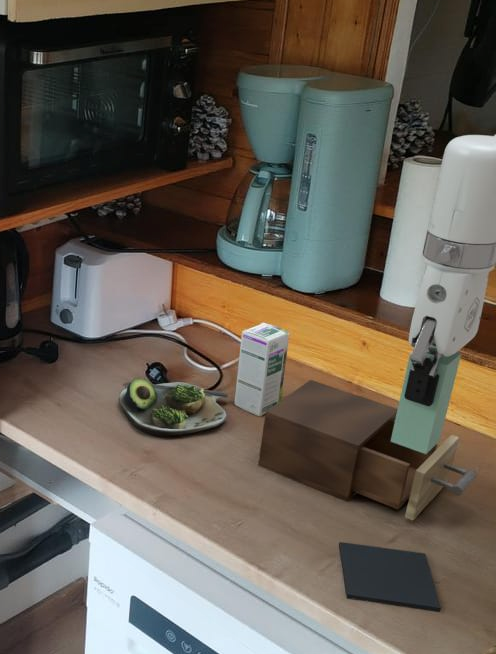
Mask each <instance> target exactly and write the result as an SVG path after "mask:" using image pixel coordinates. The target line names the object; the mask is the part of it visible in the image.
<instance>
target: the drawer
mask: <svg viewBox="0 0 496 654" xmlns="http://www.w3.org/2000/svg"><path fill="white" fill-rule="evenodd" d="M394 424H395V419H394V418H393V419H392V420H391V421H390V422H389V423H388V424H387V425H386V426H384V427H383V428H382V429H381V430H380V431H379V432H378V433H377V434H375V435H374V436H373V437H372V438H371V439H370V440H369V441H367V442H366V443H365V444H364V445H363V446H362V447H361V448H360V451H359V456H358V461H357V466H356V471H355V476H354V480H353V485H352V490H351V491H353V492H356V494H358V495H360V496H363V497H366V498H368V499H371V500H373V501H376V502H378V503H381V504H383V505H386V506H388V507H390V508H393V509H396V510H399V509H400V508H401V507H402V506H403V505H404V504H405V503H406V501H408V503H407V507H406V511H405V515H404V517H405V518H406V519H408V520H411V521H414V520H415V519H416V518H417V517H418V516H419V515H420V513H421V512H422V511H423V510H424V509H425V508H426V507H427V506H428V505H429V504H430V503H431V502H432V500H433V499H435V497H436V496H437V495H438V494H439V492H440V491H441V490H442V489H443V488H446V489H448V490H451V493H452V494H453V495H455V496H461V495H462V494H463V493H464V492H465V490H467V489H468V487H469V486H470V485H471V484H472V482H474V480H475V479H476V478H477V476H478V472H477V471H476V470H475V469H472V468H470V469H467V470H466V469H465V468H461V467H458V466H455V465H453V464H454V460H455V456H456V454H457V453H456V452H457V448H458V444H459V441H460V437H459V436H457V435H455V434H450V435H449V436H448V437H447V439H445V440H444V441H442V443H441V444H440V446H438V444H439V442H438V443H437V444H436V445H435V446H434V447H433V448H432V449H431V450H430V451H429V452H428V453H427V454H424V453H421V452H418V451H416V450H413V449H410V448H407V447H405V446H402V445H399V444H396V443H393V442H391V437H392V433H393V428H394ZM451 472H454V473H456V474H459V475H462V476H461V477H460V478H459V479H458V480H457V482H456V483H454V484H453V483H450V482H449V480H450V475H451Z"/></svg>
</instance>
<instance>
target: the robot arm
mask: <svg viewBox="0 0 496 654" xmlns="http://www.w3.org/2000/svg"><path fill="white" fill-rule="evenodd" d="M423 245H424V246H423V249H422V253H421V260H422V262H424V264H426V268H425V271H424V275H423V277H422V280H421V284H420V288H419V291H418V294H417V299H416V303H415V306H414V310H413V314H412V319H411V323H410V328H409V334H408V344H409V345H410V347H412V351H411V352H410V354H411V356H410V360H411V361H412V363H411V366H410V373H409V377H408V382H407V386H406V391H405V395H404V397H405V399H407V400H410V401H413V402H416V403H419V404H422V405H425V406H431V405H432V404H433V401H434V397H435V393H436V389H437V384H438V380H439V376H440V375H436V374H437V371H438V368H439V365H440V362H441V359H442V355H443V354H444V356H446V357H449V356H451V355H453V354H455V353H456V352H457V353H459V351H460V350H461V349H462V348H464V347H465V346H466V345H467V344H468V343H469V342H470V341H472V340H473V339H474V338H475V336H476V335H477V333H478V330H479V326H480V321H481V318H482V312H483V307H484V302H485V298H486V292H487V288H488V282H489V273H490V272H492V271H493V270H494V269H495V267H496V134H494V135H485V134H484V135H483V134H466V135H461V136H457V137H454V138H453V139H451V140H450V141H449V142H448V144H447V145H446V147H445V149H444V152H443V155H442V160H441V165H440V169H439V174H438V179H437V184H436V188H435V192H434V198H433V202H432V206H431V211H430V215H429V221H428V226H427V231H426V235H425V239H424V244H423ZM430 345H433V346H436V348H437V349H436V348H432V347H430ZM427 353H429V354H432V355H435V356H434V359H433V362H431V359H430V358H427Z"/></svg>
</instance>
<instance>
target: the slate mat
mask: <svg viewBox="0 0 496 654" xmlns="http://www.w3.org/2000/svg"><path fill="white" fill-rule="evenodd" d="M338 548H339V555H340V563H341V569H342V576H343V583H344V588H345V595H347V596H346V598H347V599H351V598H355V599H354V600H358V599H359V601H365V600H368V601H367V602H371V603H372V602H373V603H379V602H381V603H380V604H385V605H386V604H388V605H392V604H393V606H399V607H400V606H401V607H406V606H408V607H407V608H413V607H414V609H422V610H427V611H435V612H441V610H442V606H441V602H440V599H439V595H438V592H437V589H436V585H435V582H434V578H433V574H432V572H431V568H430V564H429V560H428V557H427V553H424V552H417V551H411V550H410V551H409V550H403V549H395V548H387V547H381V546H373V545H366V544H359V543H351V542H344V541H339V542H338Z"/></svg>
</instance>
